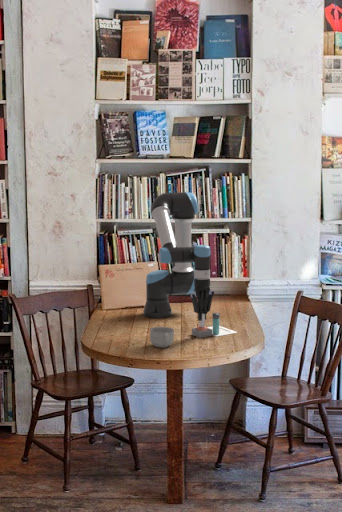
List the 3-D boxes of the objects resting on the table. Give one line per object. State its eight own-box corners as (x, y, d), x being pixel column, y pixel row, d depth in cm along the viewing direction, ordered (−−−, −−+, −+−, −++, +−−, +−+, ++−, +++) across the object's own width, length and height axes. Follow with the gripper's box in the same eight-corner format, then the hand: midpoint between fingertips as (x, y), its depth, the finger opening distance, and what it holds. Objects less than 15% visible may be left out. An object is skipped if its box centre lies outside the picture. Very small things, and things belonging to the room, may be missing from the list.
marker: (210, 333, 355) (211, 313, 353) (216, 332, 357) (216, 312, 355) (215, 335, 352) (215, 315, 350) (220, 333, 354) (221, 313, 352)
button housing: (191, 334, 354) (191, 328, 354) (203, 332, 358) (203, 326, 357) (200, 337, 348) (200, 331, 348) (212, 335, 352) (212, 329, 351)
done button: (194, 333, 354) (194, 326, 353) (203, 332, 356) (203, 325, 356) (200, 336, 349) (200, 329, 349) (209, 334, 352) (209, 327, 352)
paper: (196, 329, 363) (196, 328, 363) (218, 325, 370) (218, 325, 370) (216, 336, 350) (216, 336, 350) (237, 332, 357) (237, 332, 357)
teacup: (149, 343, 340) (149, 326, 339) (173, 342, 341) (173, 325, 340) (151, 351, 327) (151, 334, 325) (175, 351, 327) (175, 333, 326)
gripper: (195, 280, 342) (195, 330, 346) (218, 277, 349) (217, 326, 353) (186, 278, 348) (186, 327, 352) (208, 275, 355) (208, 323, 359)
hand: (202, 326), depth 352 cm, fingers closed
